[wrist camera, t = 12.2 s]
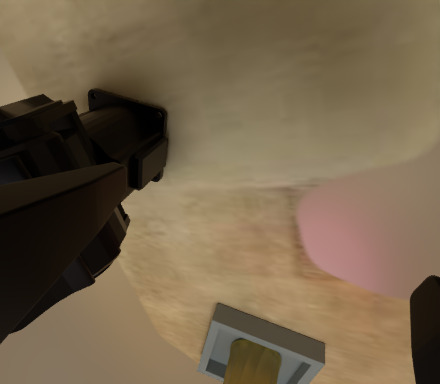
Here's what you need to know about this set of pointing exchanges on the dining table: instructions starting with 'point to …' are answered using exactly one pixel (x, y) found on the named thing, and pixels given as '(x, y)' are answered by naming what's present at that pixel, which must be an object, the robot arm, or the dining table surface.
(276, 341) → the tray
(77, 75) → the dining table surface
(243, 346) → the vase
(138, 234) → the dining table surface
